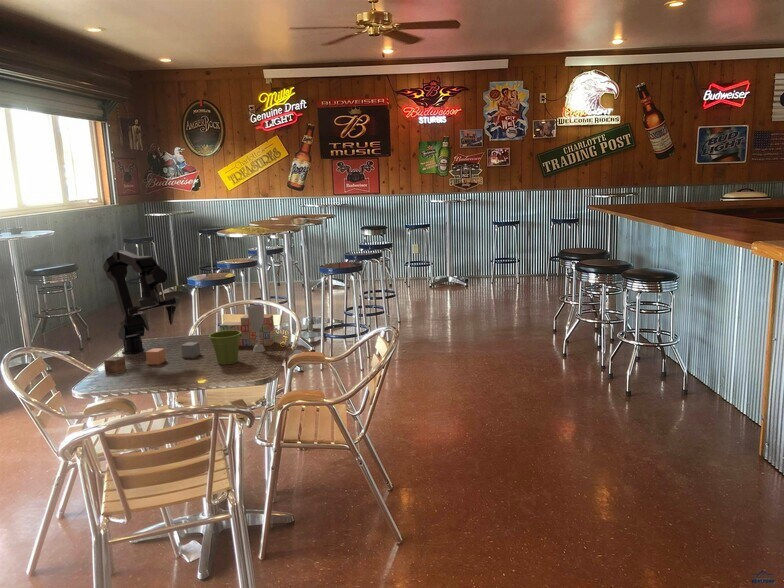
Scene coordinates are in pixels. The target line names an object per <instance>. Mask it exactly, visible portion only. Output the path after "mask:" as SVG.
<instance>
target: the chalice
mask: <svg viewBox="0 0 784 588" xmlns="http://www.w3.org/2000/svg"><path fill="white" fill-rule="evenodd" d="M264 308H265V305H258V304H257V305H250V306H246V307H245V309H246V310H247V315H248V319H249V322H250V324H251V326H252V327H253V329H255V330H256V336H257V338H256V340H257V345H255V346H253V349H252V353H263V352H265V351H266V349H265V346H263V345H262V344H260V342H259V341H260V338H259V335H260V334H259V329H261V327H262V324H263V321H264V314H265V312H264V311H265V309H264Z"/></svg>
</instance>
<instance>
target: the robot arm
mask: <svg viewBox="0 0 784 588" xmlns="http://www.w3.org/2000/svg"><path fill="white" fill-rule="evenodd" d="M129 266H131V268H132V270H133V271H134V272H136V273H138V276H137V280H138V281H139V283H140V287H141V291H142V292H141V297H140V298H139V299H138V300H137V301H138V303H139V305H136V306H134V304H133V301H132V297H131V294H130V290H129V287H128V283H127V280H126V277H127V275H128V268H129ZM102 268H103V271H104V273H105V275H106V278H108V279H109V280H110V281H111V282H112V283H113V287H114V289H115V293H116V297H117V300H118V304H119V307H120V310H121V315H122V317H121V320H120V327H119V330H118V333H117V335H118V338H119V339H120V340H122V342H123V343H122V344H123V349H124V350H123V351H122V352H121V354H137V353H140V352H142V351H144V350H146V349H145V348H144V347H143V340H142V337H143V336H145V330H146V331H148V332H149V331H150V327H149V326H150V325H149V321H148V318H147V314H146V313H144V312H145V311H149V310H150V311H151V310H153V309H156V308H157V309H158V308H161V307H164V306H165V309H166V311H167V317H168V322H169V324H170V326H172V325H173V322H174V316H175V312H176V308H177V307H179V304H181V303H182V302H181V299H180V297H179V296H170V297H166V298H164V300H163V299H161V295H160V293H161V290H160V289H159V285H161V284H163V283H166V281H167V279H168V273H167V271H165V270H164V269H163V268H161V266H160V265H159V264H158V263H157V262H156V260H155V259H154V257H153V256H151V255H139V254H138V255H137V254H135V253H133V252H129V251H128V250H127V249H122V250H115V251H113V253H112V254H111V256H109V257H108V258H106V259H105V261H104V263H103V265H102Z"/></svg>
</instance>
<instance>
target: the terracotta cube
mask: <svg viewBox="0 0 784 588" xmlns="http://www.w3.org/2000/svg"><path fill="white" fill-rule="evenodd" d="M145 358H146V365H160V364H163V363H164V362H166V361H167V357H166V348H158V347H157V348H155V347H154V348H153V347H152V348H151V349H149V350H147V351H145Z"/></svg>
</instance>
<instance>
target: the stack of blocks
mask: <svg viewBox="0 0 784 588" xmlns="http://www.w3.org/2000/svg"><path fill="white" fill-rule="evenodd" d="M274 322H275V321H274V314H265V313H264V321H263V324H262V327H261V329H259V334H260V335H259V338H260V341H259V342H260V344H262V345H263V347H267V346H272V345H273V344H274V343H275V342H276V338H275V325H274V324H275V323H274ZM219 329H220V331H225V330H238V331H241V334H240V339H239V347H254V346H255V345H257V340H256V338H257V336H256V330H255V329H253V327H252V326H251V324H250V322H249V319H248V314H244V315H243V316H241V317H240V321H225V322H223V323H222V324H220V325H219ZM251 345H252V346H251Z"/></svg>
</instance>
